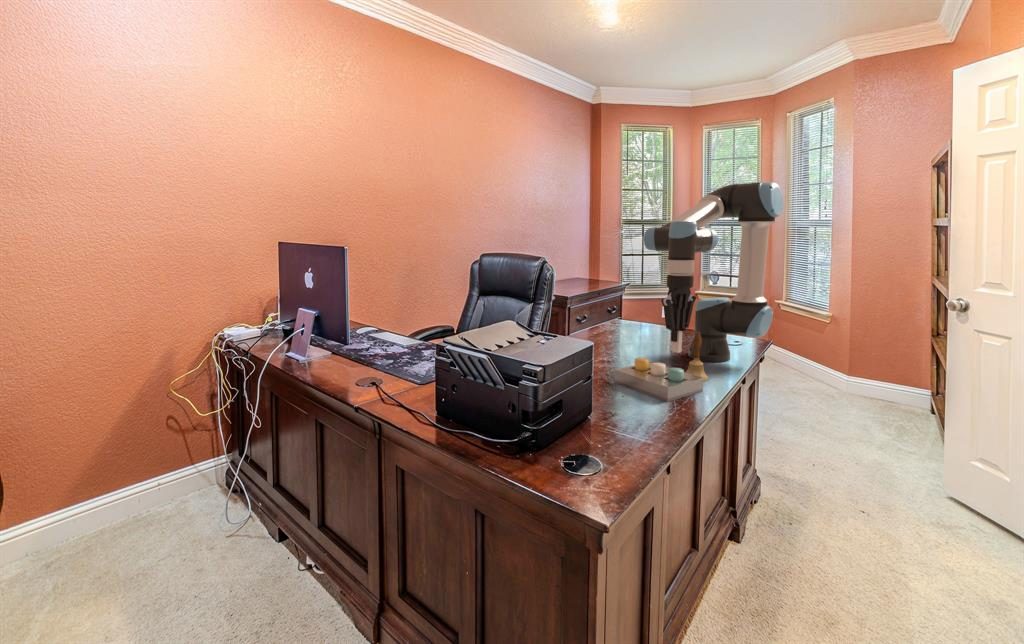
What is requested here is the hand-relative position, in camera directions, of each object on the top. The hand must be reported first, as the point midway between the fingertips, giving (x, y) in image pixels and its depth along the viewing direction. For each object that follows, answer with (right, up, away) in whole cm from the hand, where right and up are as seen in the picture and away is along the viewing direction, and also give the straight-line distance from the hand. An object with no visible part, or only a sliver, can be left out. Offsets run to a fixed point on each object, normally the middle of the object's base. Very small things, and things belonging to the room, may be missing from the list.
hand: (676, 351), depth 154 cm
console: (-3, -12, +8) cm, 15 cm away
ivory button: (-3, -9, +8) cm, 12 cm away
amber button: (-7, -8, +14) cm, 17 cm away
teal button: (0, -10, +2) cm, 10 cm away
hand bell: (+12, -10, +17) cm, 23 cm away
